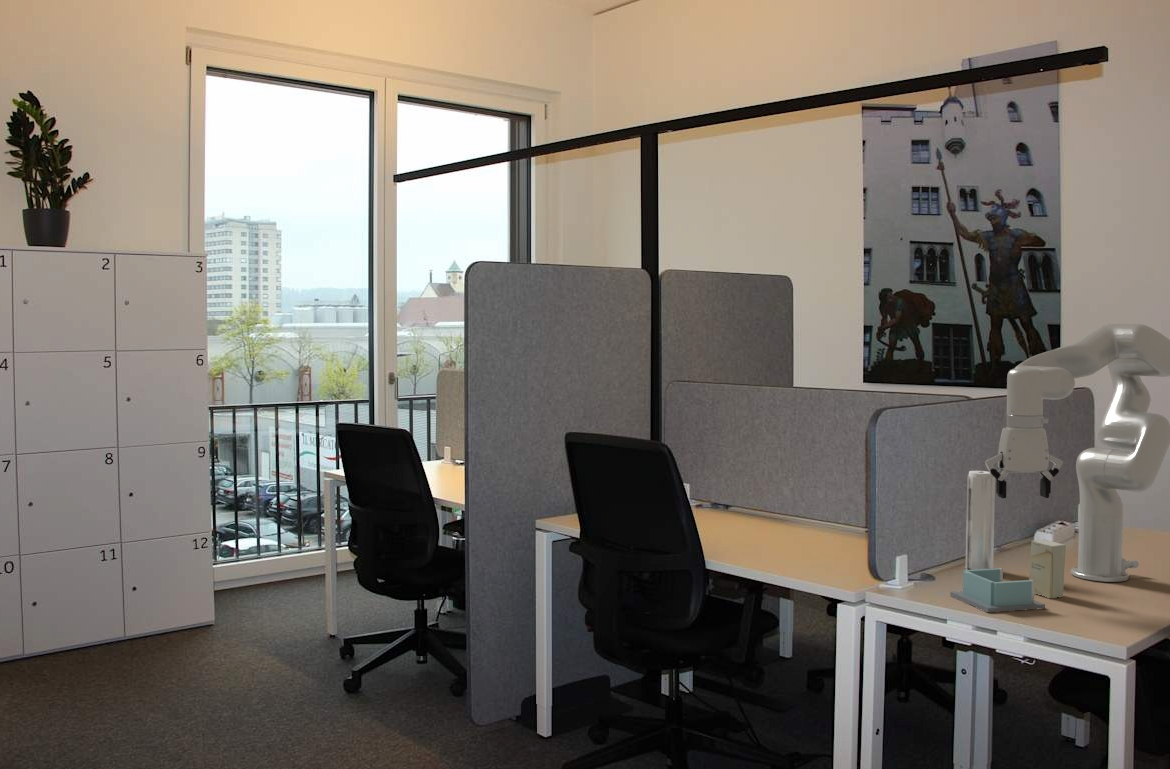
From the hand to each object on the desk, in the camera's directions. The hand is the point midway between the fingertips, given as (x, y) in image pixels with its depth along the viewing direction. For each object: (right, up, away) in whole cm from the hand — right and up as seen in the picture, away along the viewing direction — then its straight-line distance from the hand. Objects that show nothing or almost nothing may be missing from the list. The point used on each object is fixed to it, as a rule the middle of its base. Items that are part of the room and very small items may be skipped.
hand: (1023, 497), depth 228 cm
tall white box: (-1, -21, +23) cm, 31 cm away
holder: (-9, -23, -7) cm, 25 cm away
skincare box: (+5, -23, 0) cm, 23 cm away
